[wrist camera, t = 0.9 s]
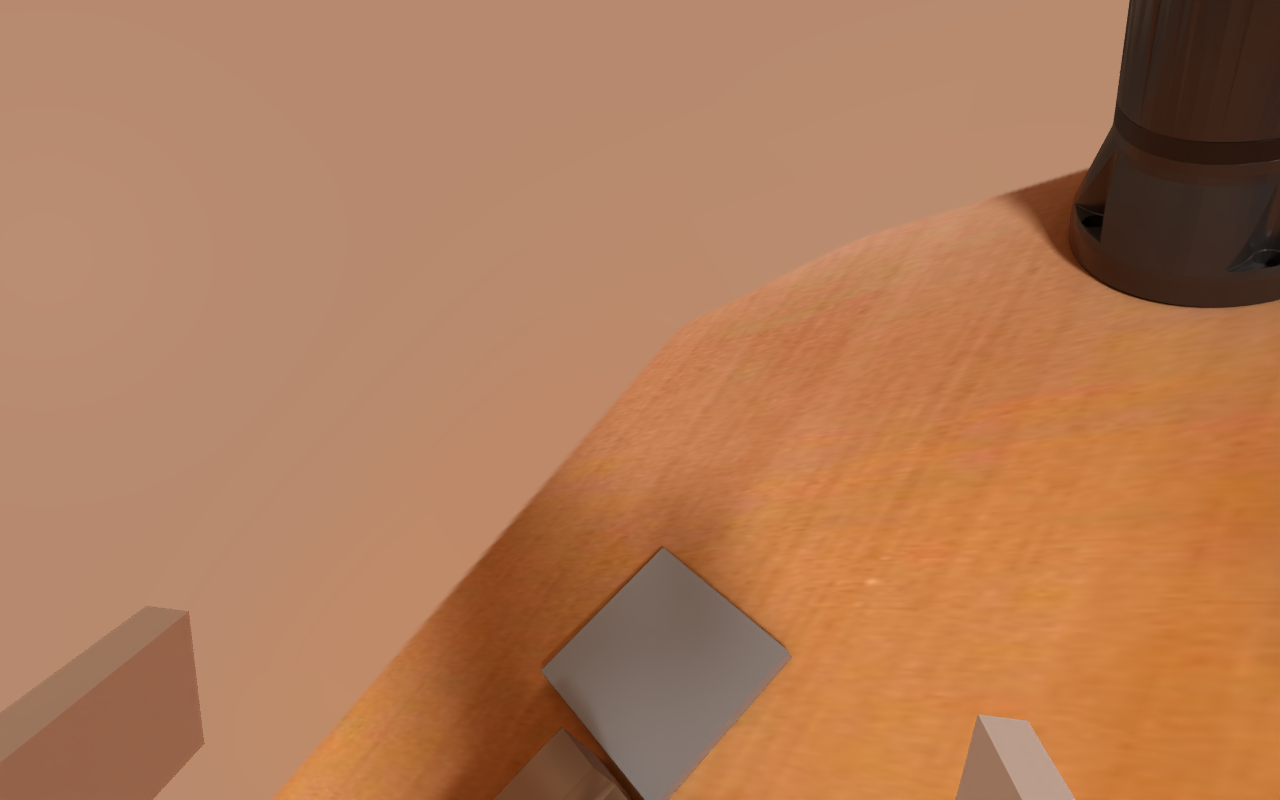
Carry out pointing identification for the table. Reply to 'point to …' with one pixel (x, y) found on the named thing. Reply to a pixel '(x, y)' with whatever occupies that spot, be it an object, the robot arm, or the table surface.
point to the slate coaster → (664, 673)
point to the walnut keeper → (564, 775)
